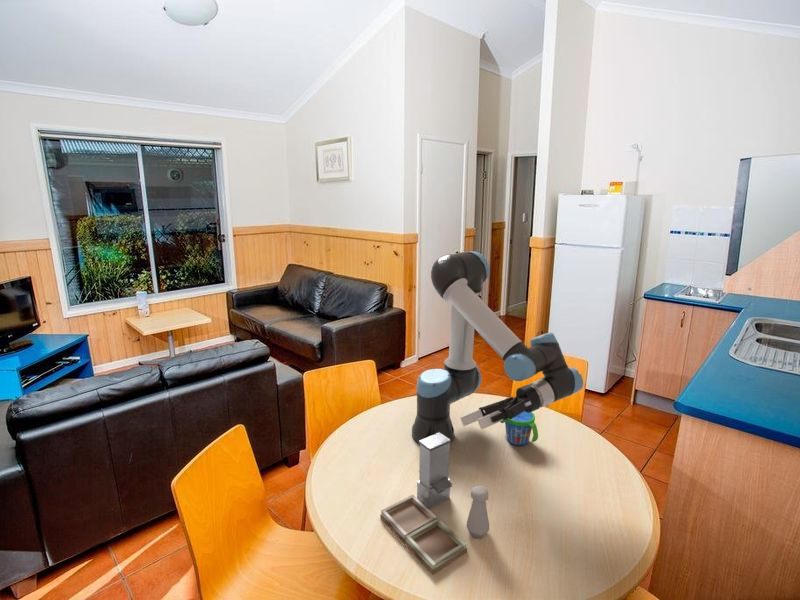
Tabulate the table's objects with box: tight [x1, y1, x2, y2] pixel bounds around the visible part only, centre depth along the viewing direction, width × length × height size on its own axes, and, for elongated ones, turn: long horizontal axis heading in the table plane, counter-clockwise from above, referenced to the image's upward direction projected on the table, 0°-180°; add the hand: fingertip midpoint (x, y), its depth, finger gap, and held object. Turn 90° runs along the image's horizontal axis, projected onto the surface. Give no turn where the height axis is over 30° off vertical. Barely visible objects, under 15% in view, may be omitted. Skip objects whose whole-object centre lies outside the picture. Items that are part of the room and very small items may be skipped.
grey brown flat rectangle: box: [380, 494, 469, 575], centre depth 113 cm, size 22×11×2 cm, turn 36°
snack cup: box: [499, 411, 539, 446], centre depth 153 cm, size 16×10×10 cm
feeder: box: [416, 432, 453, 510], centre depth 122 cm, size 8×8×19 cm
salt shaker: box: [466, 485, 490, 540], centre depth 112 cm, size 6×6×13 cm
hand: (470, 423), depth 123 cm, fingers open, 13 cm apart
